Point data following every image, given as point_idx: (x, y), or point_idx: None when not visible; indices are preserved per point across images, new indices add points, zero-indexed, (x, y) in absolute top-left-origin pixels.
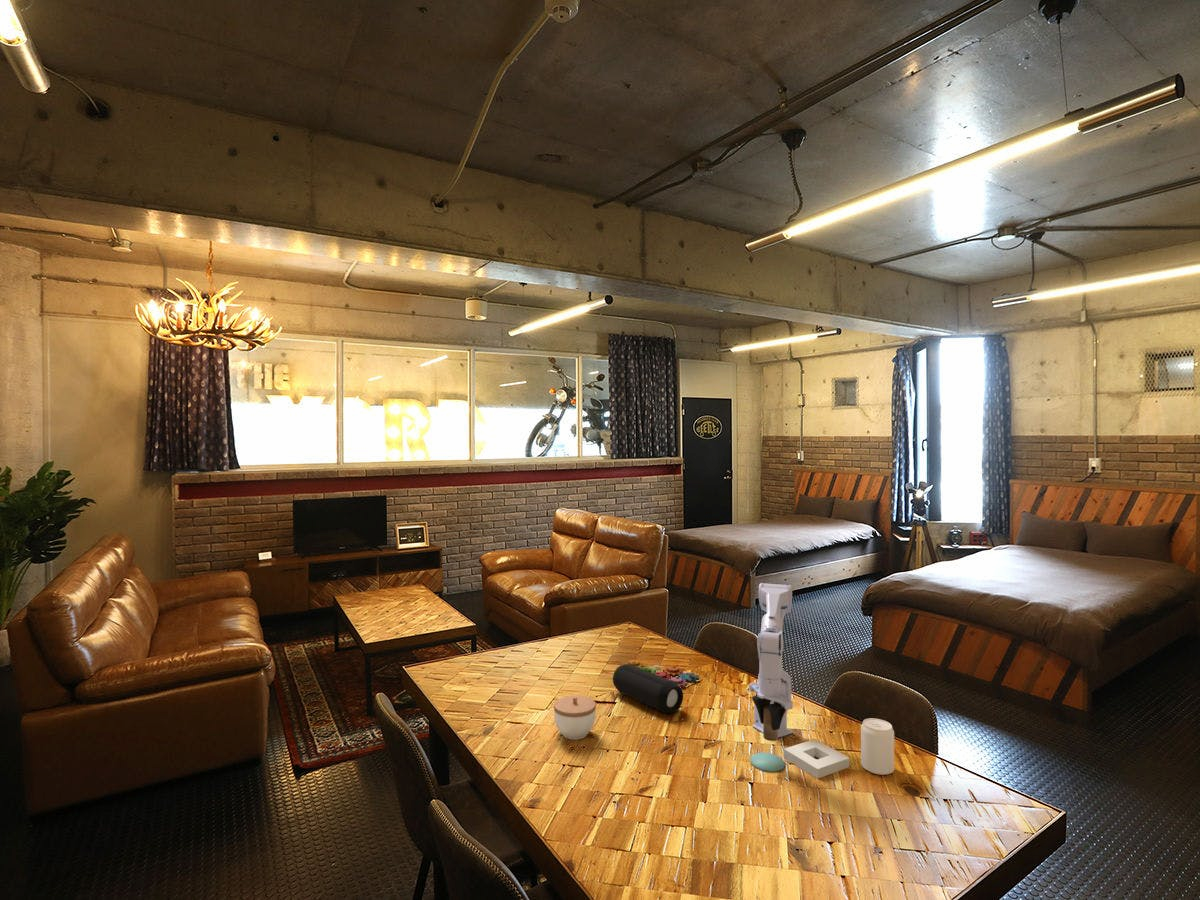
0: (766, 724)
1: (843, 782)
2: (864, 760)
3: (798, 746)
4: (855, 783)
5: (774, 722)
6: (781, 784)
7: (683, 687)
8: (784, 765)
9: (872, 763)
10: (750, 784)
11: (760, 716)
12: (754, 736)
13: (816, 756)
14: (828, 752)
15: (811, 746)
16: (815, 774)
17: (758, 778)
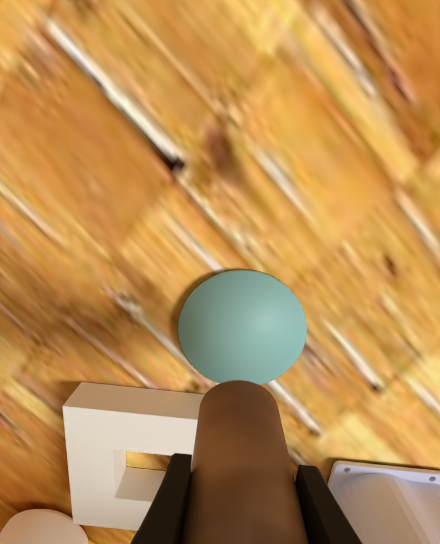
0: (238, 469)
1: (33, 421)
2: (36, 540)
3: None
4: (15, 440)
5: (141, 527)
6: (109, 259)
7: None
8: (188, 359)
9: (7, 542)
10: (167, 153)
11: (331, 526)
12: (396, 428)
13: None
14: (130, 507)
15: None
16: (85, 389)
17: (183, 218)
